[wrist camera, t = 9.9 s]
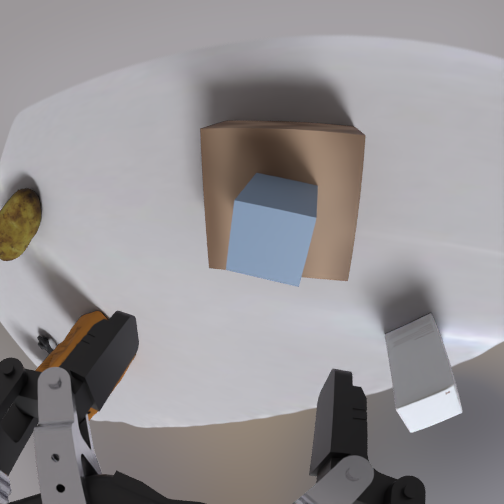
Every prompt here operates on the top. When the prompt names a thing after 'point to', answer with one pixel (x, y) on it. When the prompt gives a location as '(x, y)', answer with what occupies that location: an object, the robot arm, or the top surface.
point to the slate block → (272, 228)
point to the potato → (18, 223)
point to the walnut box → (289, 167)
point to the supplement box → (421, 374)
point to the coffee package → (74, 345)
